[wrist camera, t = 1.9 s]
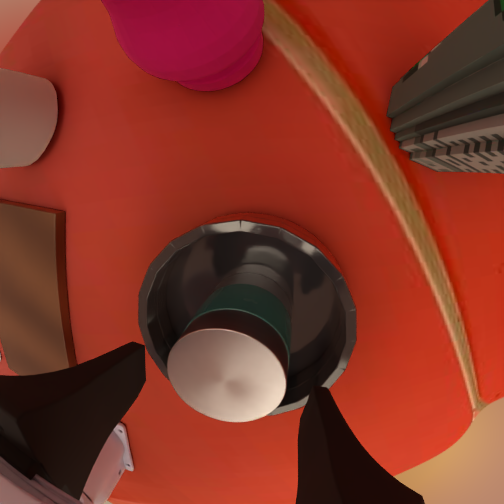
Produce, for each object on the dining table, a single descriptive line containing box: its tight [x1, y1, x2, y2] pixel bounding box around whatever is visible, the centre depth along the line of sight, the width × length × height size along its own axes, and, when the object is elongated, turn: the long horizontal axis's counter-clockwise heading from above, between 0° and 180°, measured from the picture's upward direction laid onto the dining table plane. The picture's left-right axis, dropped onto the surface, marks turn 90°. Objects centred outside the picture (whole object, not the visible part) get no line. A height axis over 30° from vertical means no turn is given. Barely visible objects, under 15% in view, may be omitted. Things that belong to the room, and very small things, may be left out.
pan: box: [138, 212, 357, 416], centre depth 17 cm, size 12×12×4 cm
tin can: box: [167, 273, 292, 422], centre depth 15 cm, size 5×5×7 cm
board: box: [0, 199, 77, 376], centre depth 22 cm, size 20×12×1 cm, turn 171°
